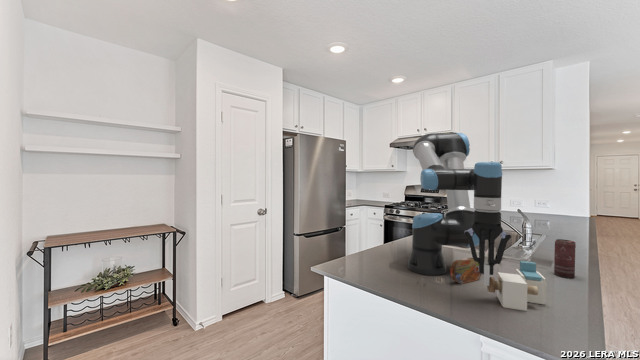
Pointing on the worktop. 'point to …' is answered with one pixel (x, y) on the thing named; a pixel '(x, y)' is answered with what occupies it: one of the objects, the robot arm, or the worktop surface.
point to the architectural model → (487, 255)
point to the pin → (498, 286)
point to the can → (564, 258)
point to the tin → (465, 270)
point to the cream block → (512, 291)
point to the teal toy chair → (529, 270)
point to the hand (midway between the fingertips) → (485, 284)
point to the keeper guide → (540, 285)
